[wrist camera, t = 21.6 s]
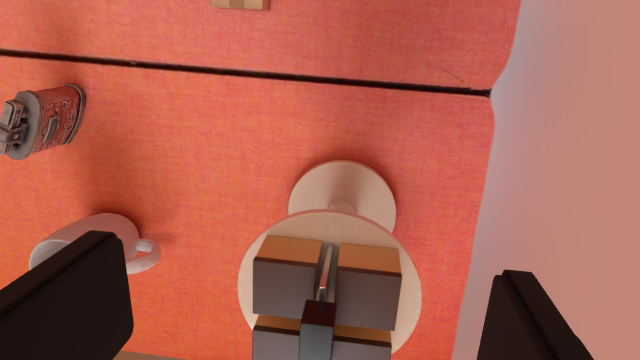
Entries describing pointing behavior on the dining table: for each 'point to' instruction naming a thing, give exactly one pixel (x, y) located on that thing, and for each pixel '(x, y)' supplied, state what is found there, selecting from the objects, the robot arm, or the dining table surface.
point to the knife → (319, 319)
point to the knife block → (242, 4)
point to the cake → (303, 283)
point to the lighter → (41, 120)
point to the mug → (101, 223)
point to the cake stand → (341, 231)
